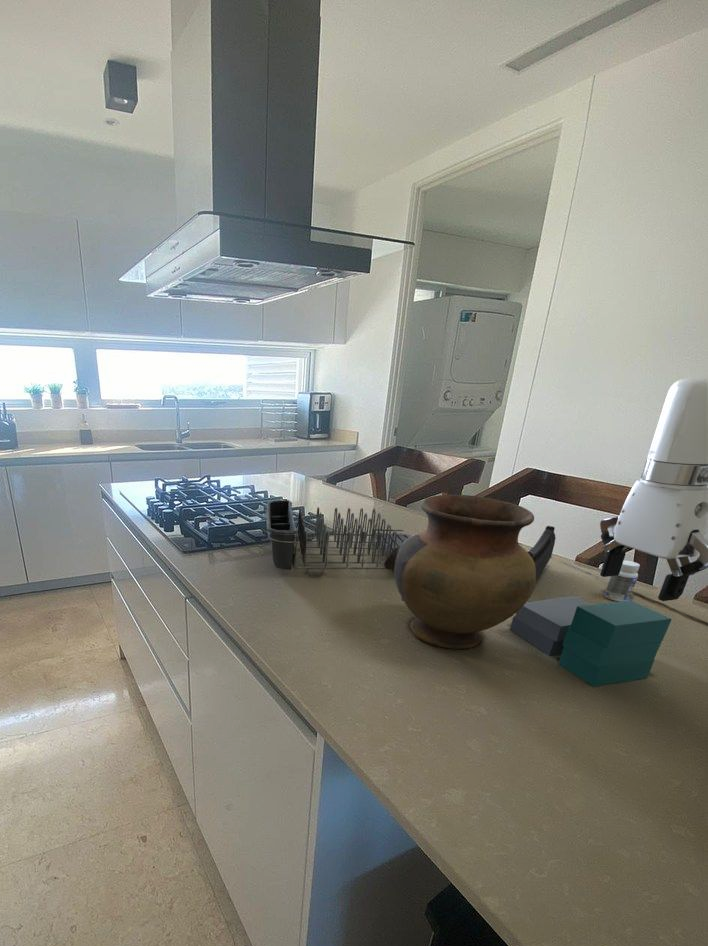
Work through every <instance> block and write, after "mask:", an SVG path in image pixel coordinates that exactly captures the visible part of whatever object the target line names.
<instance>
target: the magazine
mask: <svg viewBox="0 0 708 946" xmlns="http://www.w3.org/2000/svg"><path fill="white" fill-rule="evenodd" d="M555 529H556V527H555V526H551V525H547V526H545V529H544V530H543V532H542V534H541V536H540V537H539V539H538V540H537V541H536V543H535V545H534V546H532V547H531V548H530V549H529V551H527V552H528V553H529V555H530V556H531V557H532V559H533V561H534V563H535V568H536V582H537V581H538V580H539V578H541V575H542V574H543V572H544V570H545V568H546V567H547V565H548V564H549V562H550V559H551V558H552V556H553V552H554V547H555V543H556V533H555Z"/></svg>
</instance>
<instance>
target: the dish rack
mask: <svg viewBox="0 0 708 946" xmlns="http://www.w3.org/2000/svg"><path fill="white" fill-rule="evenodd" d="M292 507H293V503H292V501H291V500H289V499H282V500H281V499H278V500H272V501H269V502H267V503H266V510H265V511H266V514H265V515H266V518H265V519H266V530H267V538H268V539H270V547H271V548H270V549H271V557H272V558H271V559H272V562H273V565H274V566H275V568H277V569H279V570H285V571H291V570H292V568H293V569H295V570H296V569H298V570H306V575H308V576H311V577H317V576H318V577H322V576H323V575H324V573H325V570H387V569H386V568H385V566H379V565H380V564H384V562H385V561H383V562H382V561H381V562H380V557H385V559H386V558H387V557H388V555H389V554H390V553H391V552H392V550H393V549H394V548H396V547H398V546H400V545H401V544H402V543H403V542H404V541H405V540H407V539H408V538H409V537H410V536H412V535H411V534H407V533H397V532H404V531H405V530H404V529H392V525H391V524H390V523H388V524H387V527H386V523H387V522H386V518H385V517H383V518H382V517H381V512H378V513H377V517H376V511H377V510H376V508H375V507H373V508H372V512H371V517H369V518H368V513H367V512H364V508H363V507H361V508H360V511H359V517H355V513H354V512H351V508H350V507H348V508H347V511H346V520H345V521H344V518H343V517H341V512H338V507H336V506H335V508H334V513H333V514H334V515H333V521H332V530H331V531H332V532H331V533H330V531H329V530H328V529H327V524H326V523H324V520H325V519H324V517H322V512H320V507H319V506H318V507H317V508H316V517H315V527H314V530H315V531H314V533H311V532H308V530H306V524H305V523H304V522H305V521H304V517H303V512H302V507H301V506H299V507H298V518H297V520H298V521H297V527H296V524H295V520H294V513H293V510H292ZM381 518H382V519H381ZM344 523H345V524H344ZM308 536H311V538H310V537H309V538H308ZM314 536H316V537H315V540H314ZM330 536H333V540H330ZM295 538H296V539H295ZM367 539H368V540H367ZM315 542H316V543H317V546H307V545H308V543H315ZM330 543H336V546H333V547H332V546H329V544H330ZM366 545H367V547H366ZM298 547H299V548H300V555H301V562H302V564H303V566H296V560H297V553H298ZM307 549H319V553H307ZM329 549H339V553H329ZM351 549H352V550H353V551H352V554H350V553H351V552H350V550H351ZM371 550H372V552H371ZM385 552H386V554H385ZM366 553H367V554H366ZM307 556H322V561H307ZM328 556H342V561H328V559H329V557H328ZM350 556H357V558H356V561H354V562H353V561H349V560H350ZM365 556H367V557H369V556H371V561H365ZM361 559H362V560H361ZM375 560H376V561H375ZM306 564H324V566H306ZM328 564H346V566H328ZM349 564H361V566H349ZM364 564H376V566H364ZM309 570H321V571H322V572H309Z"/></svg>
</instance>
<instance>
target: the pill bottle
mask: <svg viewBox="0 0 708 946" xmlns="http://www.w3.org/2000/svg"><path fill="white" fill-rule="evenodd" d="M640 567H641V565H640V563H638V562H636V561H631V560H626V559H624V561H623V564H622V567H621V570H620V573H619V575H616V576H609V577H610V578H609V580H608V582H607V583H608V584H607V586H606V588H605V591H604V597H605V598H606V599H608V600H611V601H613V602H621V601H630V599H631V597H632V594H633V591H634V588H635V586H636V583H637V580H638V577H639V573H638V571H639V569H640Z"/></svg>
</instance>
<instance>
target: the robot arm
mask: <svg viewBox="0 0 708 946" xmlns="http://www.w3.org/2000/svg"><path fill="white" fill-rule="evenodd" d="M647 453H648V454H647V456H646V457H647V458H646V460H645V463H644V467H643V469H642V473H641V476H640V478H639V479H637V480H635V482H634V483H633V485H632V487H631V489H630V491H629V492H628V495H627V497H626V499H625V501H624V503H623V505H622V508H621V510H620V513H619V515H617V516H616V515H615V516H614V517H610V518H604V519H601V520H600V521H599V527H600V532H601V534H600V539H601V541H602V543H603V545H604V546H603V551H604V552H605V556H604V560H603V563H602V566H601V570H600V574H599V575H600V576H601V577H602V578H606V577H607V578H609V577H611V576H616V575H619V573H620V570H621V567H622V564H623V561H624V560H625V558H626V551H624V550H625V549H627V548H628V549H629V548H630V549H632V550H634V551H635V550H636V551H638V552H641V553H644V554H648V555H649V556H651V555H652V556H653V557H656V558H660V559H665V560H666V562H667V565H668V566H669V569H670V571H671V573H668V574H666V576H665V577H664V581H663V582H662V586H661V588H660V591H659V594H658V596H657V599H658V600H659V601H660V602H668V601H675V600H678V599H679V598H680V597H681V596H682V594H683V593H684V590H685V588H686V586H687V583H688V580H689V577H690V576H694V575H696V573H697V574H698V573H699V572H702V571H704V570H707V569H708V539H707V538H706V533H707V531H708V377H685V378H681V379H678V380H677V381H674V383H672V385H671V386H670V388H669V389H668V391H667V394H666V397H665V400H664V402H663V406H662V410H661V413H660V416H659V419H658V422H657V426H656V428H655V431H654V435H653V438H652V441H651V444H650V447H649V451H648V452H647ZM698 554H699V556H698ZM696 556H698V557H697V559H696V560H694V561H693V559H692V558H693V557H696Z"/></svg>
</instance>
